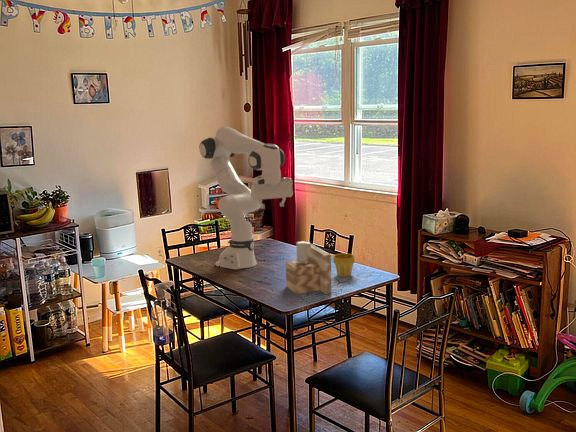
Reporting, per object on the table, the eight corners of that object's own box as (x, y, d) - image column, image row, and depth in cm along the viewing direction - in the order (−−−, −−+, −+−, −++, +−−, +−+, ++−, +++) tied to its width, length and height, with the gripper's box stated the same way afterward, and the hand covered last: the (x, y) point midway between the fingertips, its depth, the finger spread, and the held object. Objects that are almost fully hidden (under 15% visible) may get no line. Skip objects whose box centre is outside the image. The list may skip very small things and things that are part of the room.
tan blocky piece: (300, 298, 254) (299, 258, 250) (282, 283, 276) (280, 246, 273) (331, 293, 259) (330, 254, 256) (311, 278, 281) (310, 243, 278)
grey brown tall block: (299, 273, 263) (298, 243, 261) (297, 271, 266) (296, 242, 264) (311, 271, 265) (310, 242, 263) (308, 269, 268) (308, 240, 266)
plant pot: (336, 278, 280) (336, 259, 278) (331, 272, 290) (331, 254, 288) (357, 277, 281) (356, 257, 279) (351, 271, 291) (351, 252, 290)
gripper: (290, 176, 277) (291, 204, 280) (249, 179, 271) (250, 207, 274) (294, 178, 271) (295, 206, 274) (252, 181, 265) (253, 210, 268)
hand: (272, 207), depth 274 cm, fingers open, 8 cm apart
